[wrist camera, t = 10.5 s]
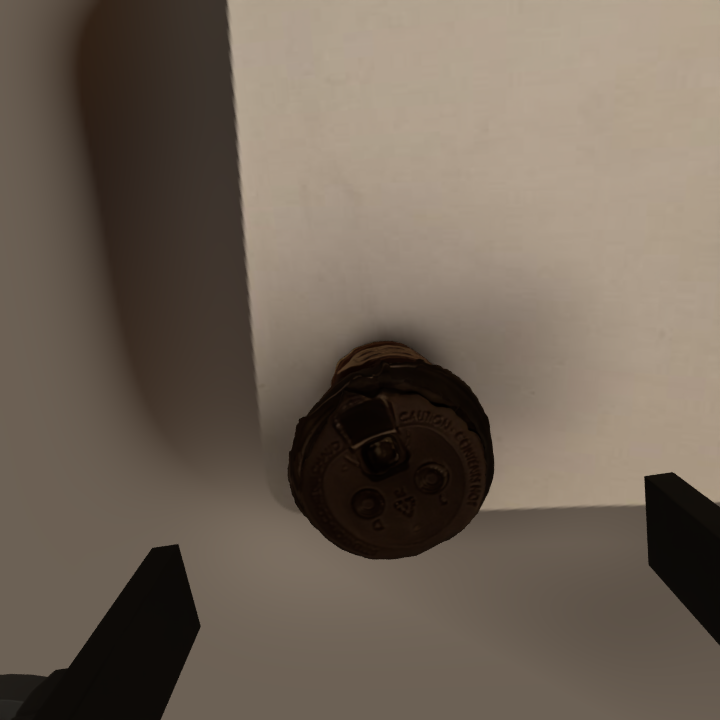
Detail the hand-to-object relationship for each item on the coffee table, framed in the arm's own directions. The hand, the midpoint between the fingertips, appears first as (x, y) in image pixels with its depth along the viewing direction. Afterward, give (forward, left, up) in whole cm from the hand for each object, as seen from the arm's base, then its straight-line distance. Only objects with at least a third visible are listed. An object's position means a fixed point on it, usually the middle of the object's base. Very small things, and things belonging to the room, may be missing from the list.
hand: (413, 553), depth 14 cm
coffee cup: (0, 0, -18) cm, 18 cm away
